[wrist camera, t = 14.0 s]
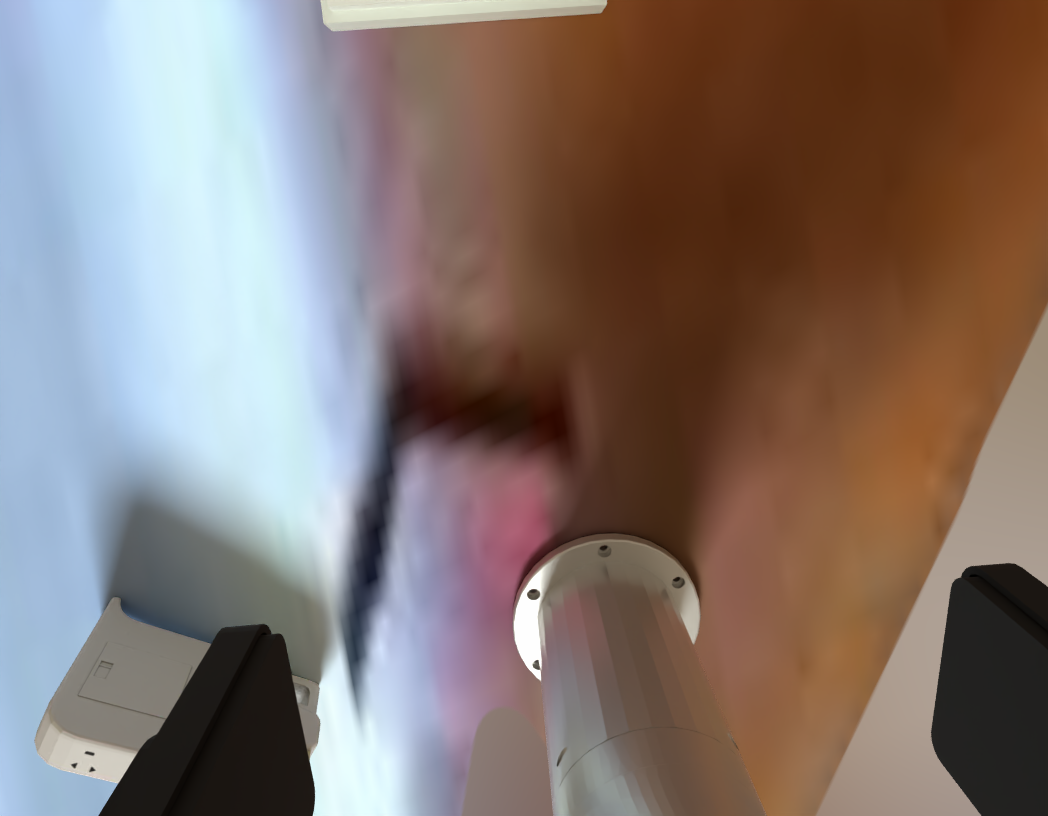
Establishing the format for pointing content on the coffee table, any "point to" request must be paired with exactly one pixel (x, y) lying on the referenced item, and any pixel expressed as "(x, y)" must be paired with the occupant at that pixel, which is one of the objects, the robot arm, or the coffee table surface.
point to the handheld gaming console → (129, 696)
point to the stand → (444, 11)
